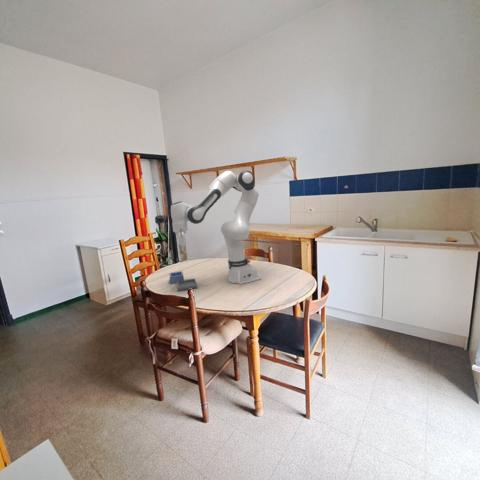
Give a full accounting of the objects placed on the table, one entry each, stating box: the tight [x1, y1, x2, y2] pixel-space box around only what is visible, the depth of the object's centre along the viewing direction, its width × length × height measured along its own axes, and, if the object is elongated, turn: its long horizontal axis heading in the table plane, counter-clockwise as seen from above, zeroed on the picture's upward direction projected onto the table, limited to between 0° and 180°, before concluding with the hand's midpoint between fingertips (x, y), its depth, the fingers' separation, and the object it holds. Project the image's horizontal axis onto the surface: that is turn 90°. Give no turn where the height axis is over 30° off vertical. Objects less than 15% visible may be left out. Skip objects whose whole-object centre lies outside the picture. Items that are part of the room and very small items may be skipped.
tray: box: [176, 278, 199, 292], centre depth 169 cm, size 12×12×2 cm
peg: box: [178, 244, 188, 262], centre depth 165 cm, size 4×4×10 cm
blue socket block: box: [169, 271, 185, 285], centre depth 181 cm, size 9×9×5 cm
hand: (182, 249), depth 164 cm, fingers closed on peg, 4 cm apart
